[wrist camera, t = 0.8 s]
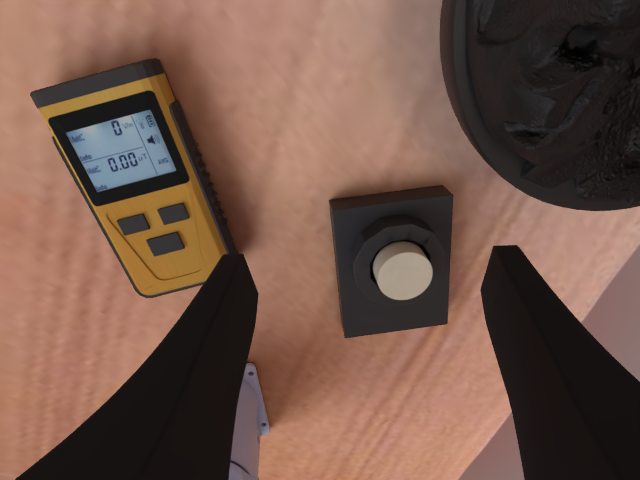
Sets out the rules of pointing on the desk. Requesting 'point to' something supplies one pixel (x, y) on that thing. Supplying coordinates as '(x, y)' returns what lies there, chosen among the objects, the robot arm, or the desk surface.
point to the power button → (402, 270)
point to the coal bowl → (550, 94)
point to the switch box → (371, 237)
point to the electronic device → (139, 174)
